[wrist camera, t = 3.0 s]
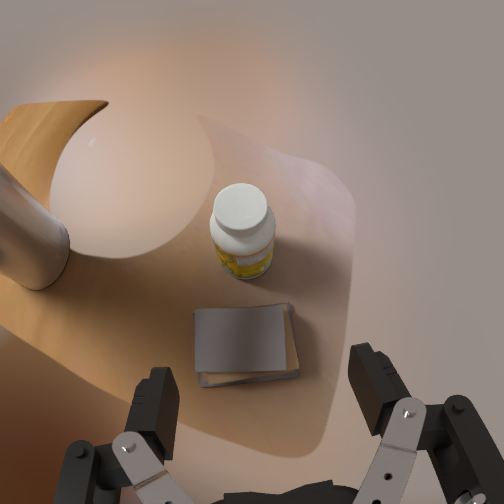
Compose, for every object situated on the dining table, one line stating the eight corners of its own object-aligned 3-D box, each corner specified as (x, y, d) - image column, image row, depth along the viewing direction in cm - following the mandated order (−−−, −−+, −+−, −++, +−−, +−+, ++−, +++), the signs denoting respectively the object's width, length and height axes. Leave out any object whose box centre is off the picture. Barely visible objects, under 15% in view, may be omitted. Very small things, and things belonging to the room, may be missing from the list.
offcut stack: (201, 386, 26) (191, 388, 23) (194, 314, 29) (184, 304, 25) (298, 376, 27) (305, 376, 23) (288, 303, 29) (293, 292, 25)
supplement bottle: (278, 273, 30) (286, 230, 22) (224, 286, 30) (210, 247, 21) (264, 225, 32) (267, 169, 24) (214, 236, 32) (198, 184, 23)
